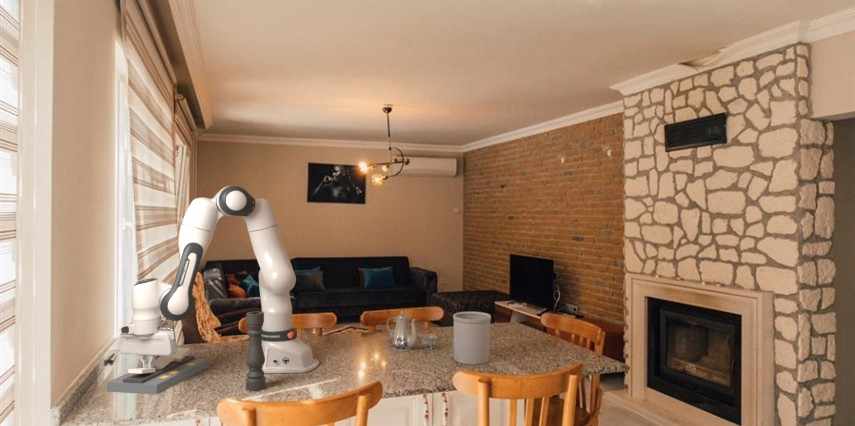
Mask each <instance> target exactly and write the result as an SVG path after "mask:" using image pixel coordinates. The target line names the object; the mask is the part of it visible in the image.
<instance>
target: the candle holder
mask: <svg viewBox="0 0 855 426" xmlns="http://www.w3.org/2000/svg"><path fill="white" fill-rule="evenodd" d="M245 317H246V318H245V323H246V326H247V328H248V330H247V331H246V334H247V335H248V340H249V341H248V343H249V344H248V347H247V348H248V350H247V354H246V358H245V365H246V367H248V372H247V373H246V379H245V391H247V390H249V391H248V392H250V391H255V392H259V391H258V390H261V391H263V390H265V389H266V376H265V373H264V372H263V370H262V366H263V365H264V363H265V356H264V352H263V348H262V344H261V335H262V333H263V330H262V326H263V323H264V312H262V311H260V310H259V311H249V312H248V311H247V313H245ZM264 388H265V389H264ZM262 389H263V390H262Z"/></svg>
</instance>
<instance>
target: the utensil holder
mask: <svg viewBox="0 0 855 426" xmlns="http://www.w3.org/2000/svg"><path fill="white" fill-rule="evenodd" d="M452 318H453V356H454V357H453V359H454V361H455V362H457V363H459V364H464V365H483V364H486V363H488V362H489V361H490V347H491V346H490V344H491V343H490V342H491V320H492V316H491V314H489V313H487V312H482V311H459V312H456V313H454V314H452Z"/></svg>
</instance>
